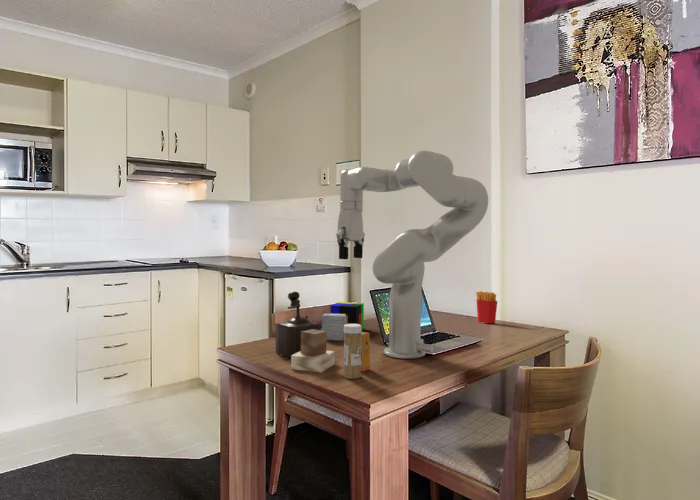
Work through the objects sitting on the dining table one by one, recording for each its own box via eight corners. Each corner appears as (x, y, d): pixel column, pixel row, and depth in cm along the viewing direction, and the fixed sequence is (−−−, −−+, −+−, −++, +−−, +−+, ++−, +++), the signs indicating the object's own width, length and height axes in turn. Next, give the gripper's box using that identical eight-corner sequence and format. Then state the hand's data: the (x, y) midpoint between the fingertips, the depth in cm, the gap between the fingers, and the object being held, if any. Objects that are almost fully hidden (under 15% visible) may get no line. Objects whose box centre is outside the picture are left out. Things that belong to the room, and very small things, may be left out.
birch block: (334, 365, 138) (334, 351, 137) (321, 373, 129) (321, 358, 129) (305, 362, 141) (305, 348, 141) (291, 370, 132) (291, 355, 132)
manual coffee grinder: (323, 354, 149) (324, 295, 148) (293, 360, 142) (293, 298, 141) (295, 344, 161) (295, 290, 160) (266, 349, 153) (266, 292, 153)
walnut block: (326, 352, 135) (326, 331, 135) (314, 356, 131) (314, 334, 131) (312, 350, 138) (313, 329, 138) (300, 353, 134) (301, 331, 134)
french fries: (498, 323, 201) (499, 292, 200) (492, 325, 198) (493, 293, 198) (479, 320, 208) (479, 290, 207) (473, 321, 205) (473, 291, 204)
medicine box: (346, 338, 171) (346, 313, 171) (344, 341, 167) (344, 315, 166) (323, 337, 172) (323, 313, 171) (321, 340, 167) (321, 315, 167)
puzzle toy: (330, 332, 182) (330, 305, 181) (338, 327, 191) (339, 301, 191) (356, 334, 179) (356, 306, 178) (363, 328, 188) (363, 303, 188)
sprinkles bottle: (359, 379, 123) (360, 326, 122) (341, 378, 124) (342, 326, 123) (362, 374, 127) (362, 323, 127) (344, 373, 128) (345, 322, 128)
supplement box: (360, 367, 134) (360, 331, 134) (370, 369, 132) (370, 332, 132) (352, 369, 132) (353, 332, 131) (362, 372, 130) (363, 334, 129)
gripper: (354, 208, 173) (353, 257, 173) (328, 206, 158) (327, 259, 158) (373, 208, 169) (372, 257, 169) (348, 205, 154) (347, 260, 154)
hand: (350, 258), depth 164 cm, fingers open, 9 cm apart
